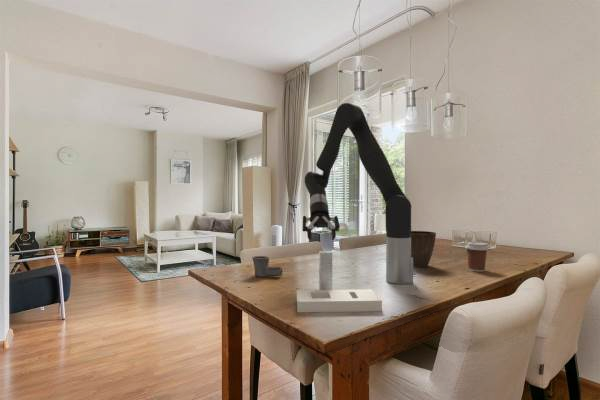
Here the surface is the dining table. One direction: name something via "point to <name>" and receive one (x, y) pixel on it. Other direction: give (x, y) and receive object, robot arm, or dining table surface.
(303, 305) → the socket plank
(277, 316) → the dining table surface
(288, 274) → the dining table surface
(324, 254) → the gray square peg
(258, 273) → the pipe
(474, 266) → the coffee cup
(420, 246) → the plant pot
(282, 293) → the dining table surface
